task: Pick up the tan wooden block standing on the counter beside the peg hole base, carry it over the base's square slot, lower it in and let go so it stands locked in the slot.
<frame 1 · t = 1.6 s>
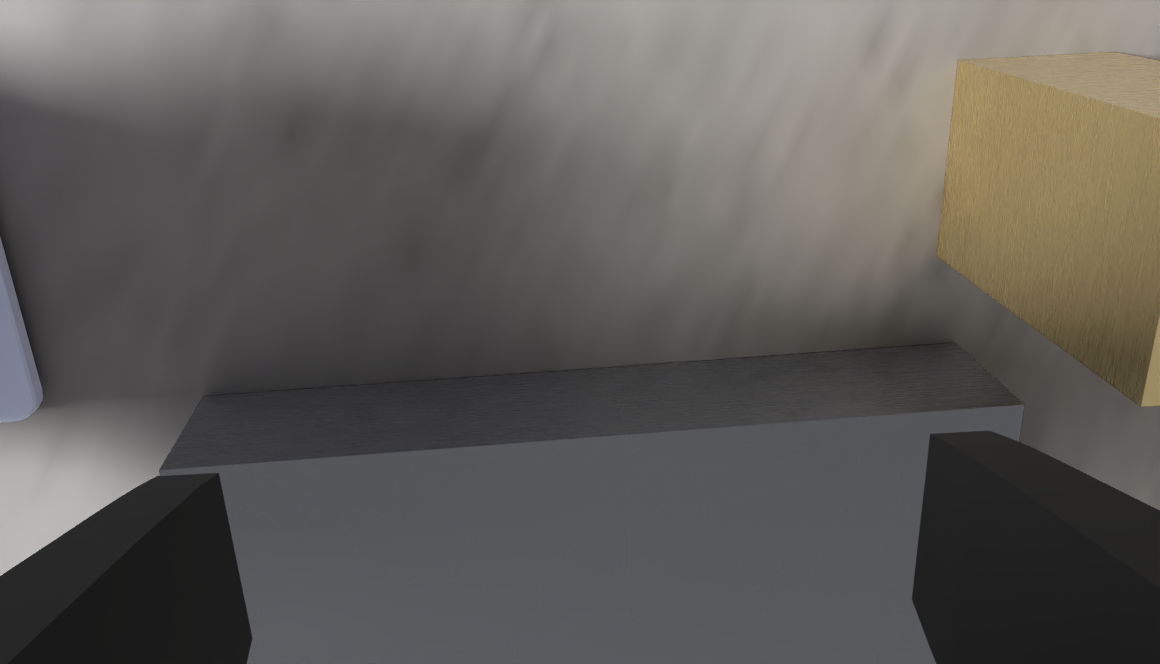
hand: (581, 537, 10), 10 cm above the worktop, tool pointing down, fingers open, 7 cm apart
tan wooden block: (1023, 157, 20), on the worktop
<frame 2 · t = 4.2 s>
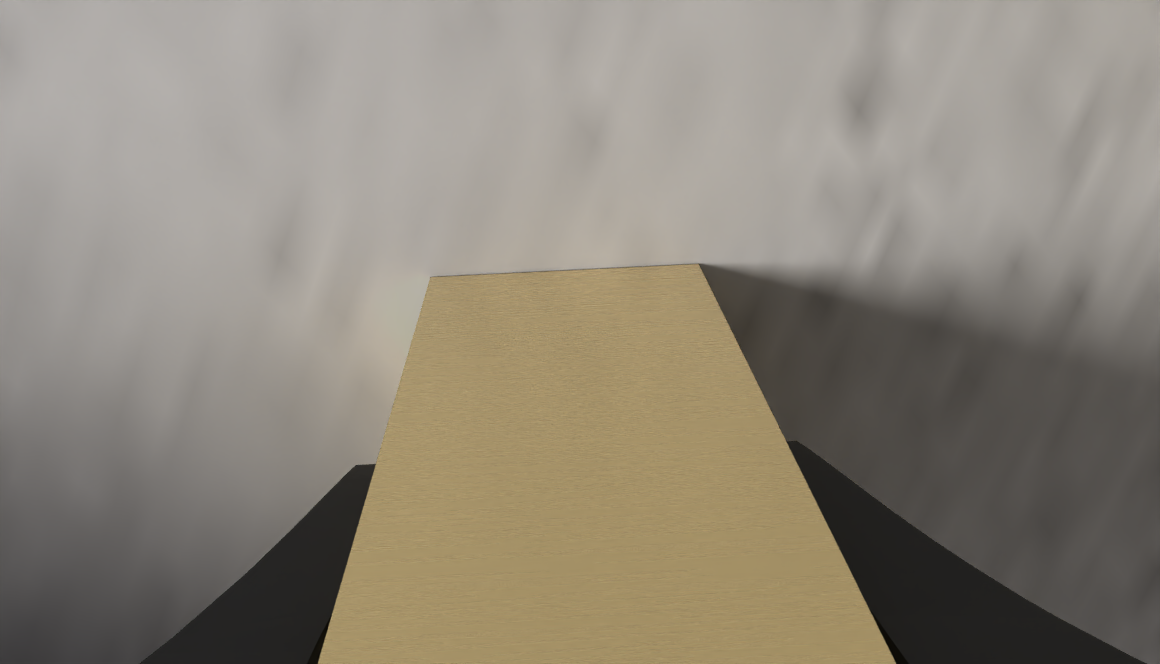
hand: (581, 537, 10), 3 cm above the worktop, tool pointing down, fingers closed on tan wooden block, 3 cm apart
tan wooden block: (571, 419, 12), on the worktop, touching gripper
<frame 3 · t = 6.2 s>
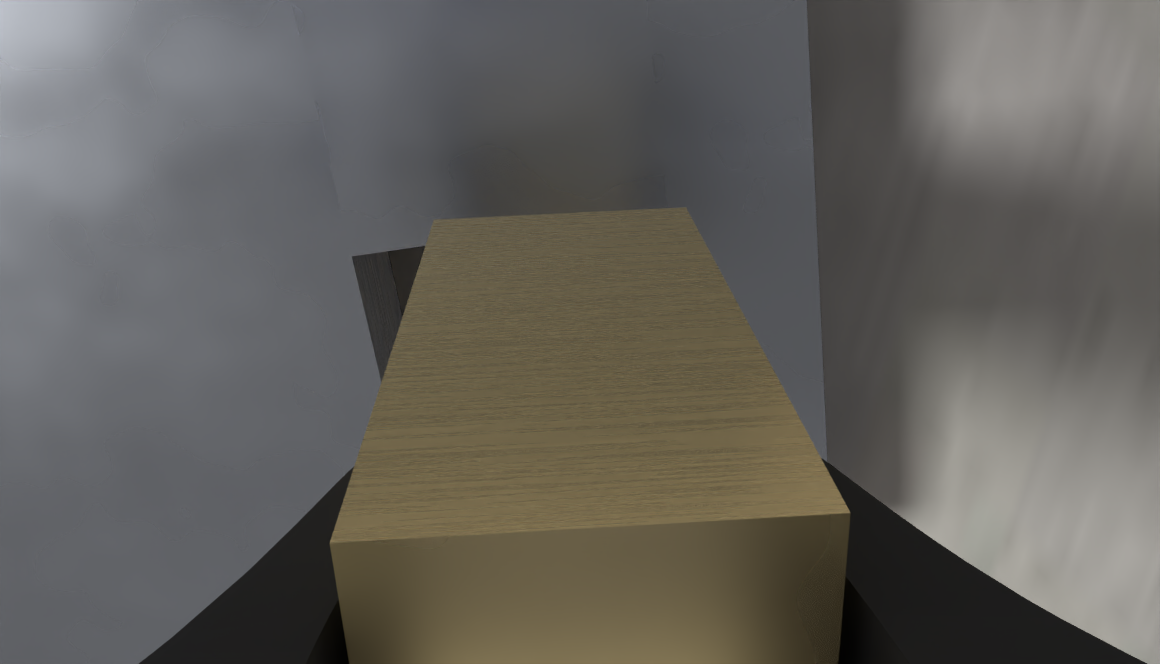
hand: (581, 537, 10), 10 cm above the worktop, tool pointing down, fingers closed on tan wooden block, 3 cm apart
peg hole base: (356, 205, 19), on the worktop
tan wooden block: (567, 357, 13), point 6 cm above the worktop, touching gripper
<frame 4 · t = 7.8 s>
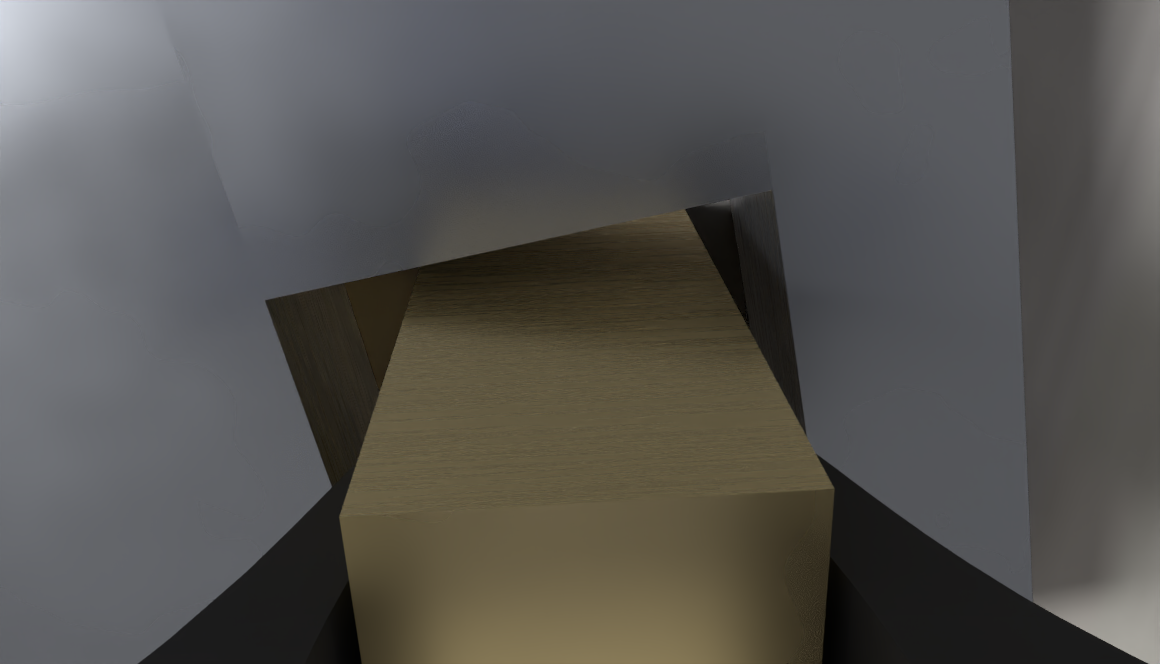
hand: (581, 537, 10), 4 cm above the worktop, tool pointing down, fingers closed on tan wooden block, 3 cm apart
peg hole base: (290, 218, 13), on the worktop
tan wooden block: (566, 351, 14), resting in peg hole base, touching gripper
when the fingers open (4 cm above the worktop, at t = 8.6 s): tan wooden block stays where it is, resting in peg hole base.
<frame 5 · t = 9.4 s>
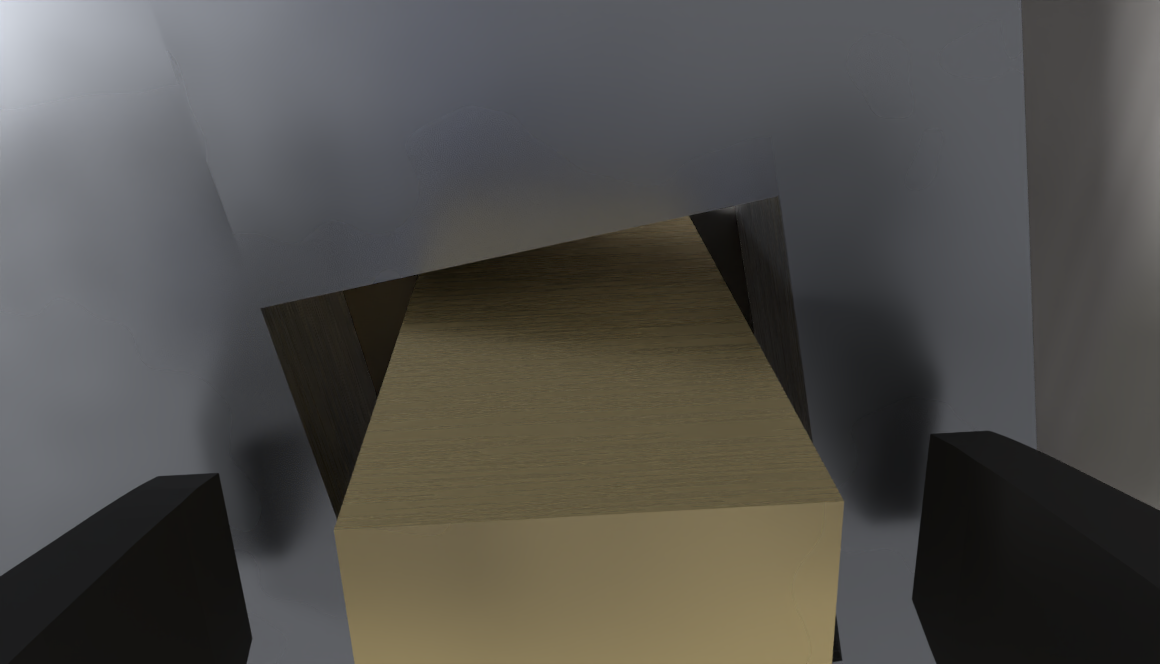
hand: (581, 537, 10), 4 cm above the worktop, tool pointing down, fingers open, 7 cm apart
peg hole base: (287, 223, 12), on the worktop
tan wooden block: (567, 357, 13), resting in peg hole base
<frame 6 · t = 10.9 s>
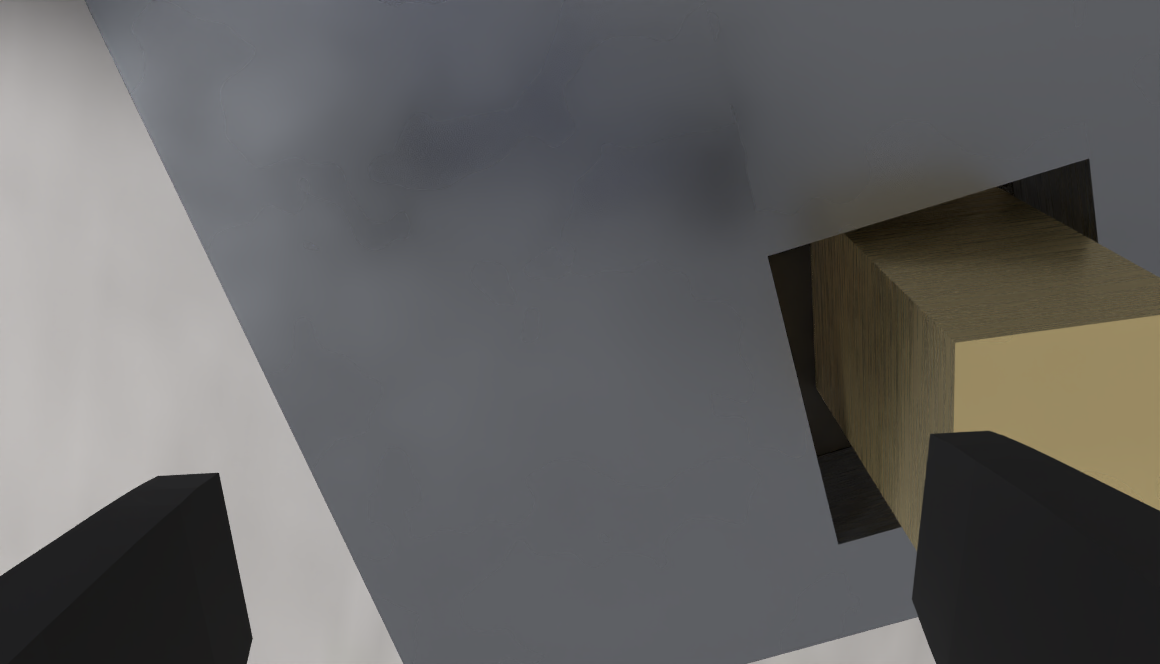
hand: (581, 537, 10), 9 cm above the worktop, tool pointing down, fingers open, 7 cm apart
peg hole base: (710, 208, 19), on the worktop
tan wooden block: (893, 285, 19), resting in peg hole base
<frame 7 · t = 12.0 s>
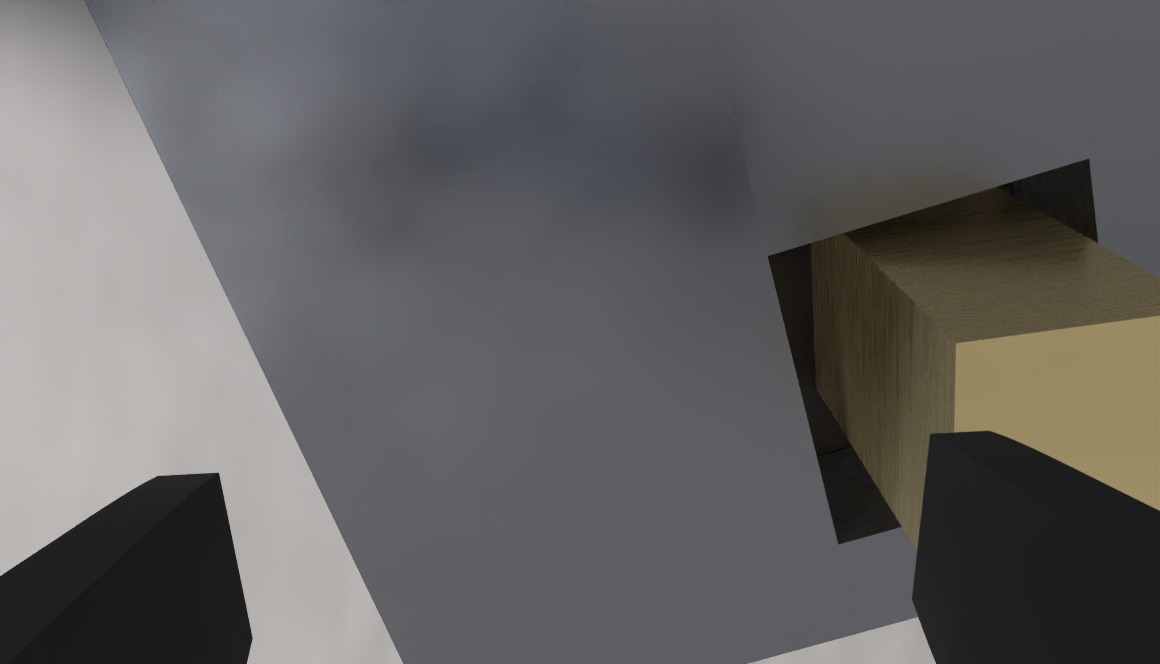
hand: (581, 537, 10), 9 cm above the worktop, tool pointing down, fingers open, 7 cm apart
peg hole base: (710, 208, 19), on the worktop
tan wooden block: (893, 285, 19), resting in peg hole base
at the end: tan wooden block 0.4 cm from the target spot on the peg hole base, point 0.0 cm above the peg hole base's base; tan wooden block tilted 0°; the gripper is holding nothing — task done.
